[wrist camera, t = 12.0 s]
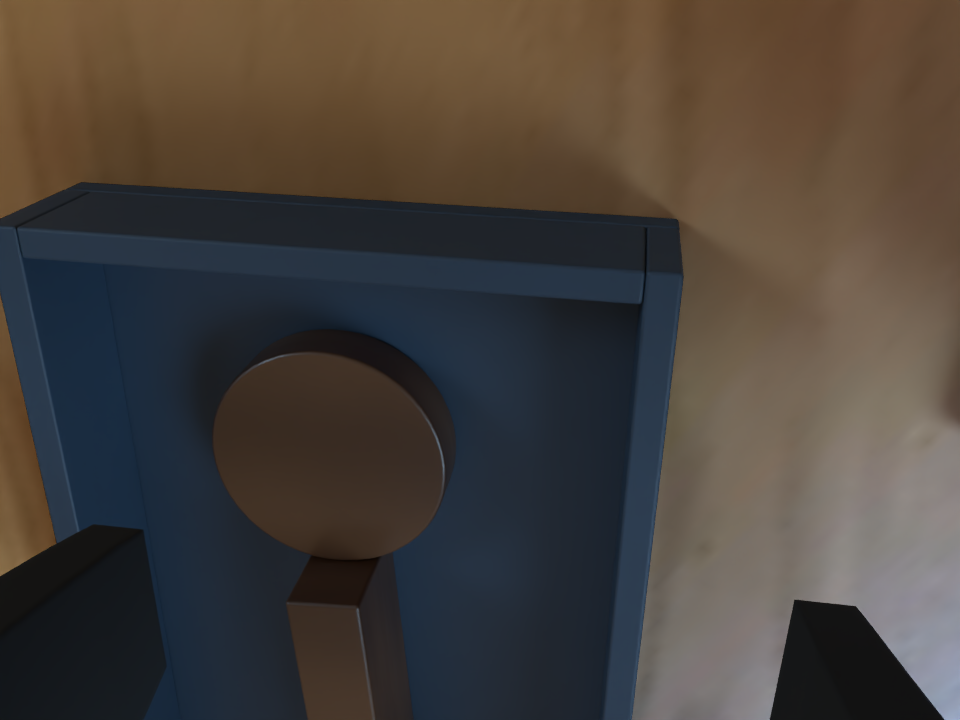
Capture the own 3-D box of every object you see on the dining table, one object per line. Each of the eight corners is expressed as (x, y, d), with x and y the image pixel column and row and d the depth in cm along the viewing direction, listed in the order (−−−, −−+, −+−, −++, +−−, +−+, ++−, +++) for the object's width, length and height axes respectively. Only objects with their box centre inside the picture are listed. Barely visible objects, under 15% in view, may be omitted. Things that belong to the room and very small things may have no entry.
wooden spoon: (495, 892, 25) (479, 988, 23) (323, 871, 26) (291, 962, 24) (447, 328, 18) (418, 386, 16) (214, 326, 19) (155, 381, 17)
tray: (678, 218, 17) (684, 273, 15) (596, 953, 27) (590, 1071, 24) (80, 181, 19) (-17, 225, 16) (203, 884, 29) (155, 986, 26)
